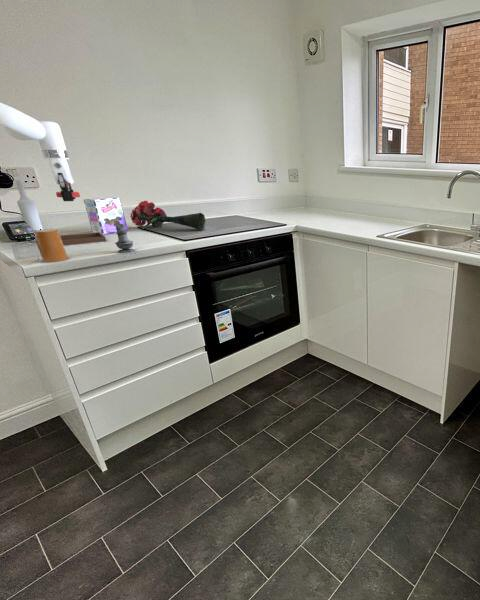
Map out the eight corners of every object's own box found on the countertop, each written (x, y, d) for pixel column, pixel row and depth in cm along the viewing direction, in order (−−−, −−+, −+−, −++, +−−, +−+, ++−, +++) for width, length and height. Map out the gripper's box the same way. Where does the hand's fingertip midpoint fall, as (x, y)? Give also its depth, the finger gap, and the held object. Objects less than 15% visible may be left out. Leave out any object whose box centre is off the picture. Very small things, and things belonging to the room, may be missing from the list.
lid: (80, 196, 153) (79, 191, 152) (79, 197, 147) (78, 192, 147) (58, 196, 149) (57, 191, 148) (56, 197, 143) (54, 192, 143)
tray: (60, 245, 145) (58, 241, 145) (56, 240, 154) (55, 236, 153) (106, 241, 156) (105, 236, 155) (100, 236, 164) (99, 232, 163)
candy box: (103, 235, 167) (93, 199, 161) (92, 234, 168) (82, 198, 162) (128, 230, 180) (120, 197, 174) (118, 229, 180) (109, 196, 174)
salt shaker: (131, 248, 144) (123, 219, 140) (138, 250, 142) (131, 221, 137) (114, 251, 140) (106, 221, 135) (121, 253, 137) (113, 222, 133)
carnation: (205, 243, 190) (136, 239, 186) (213, 217, 199) (147, 212, 195) (194, 224, 177) (119, 219, 172) (203, 197, 185) (132, 192, 181)
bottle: (47, 238, 156) (27, 179, 147) (46, 240, 152) (26, 180, 143) (31, 239, 153) (10, 179, 144) (29, 242, 149) (8, 180, 140)
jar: (43, 263, 122) (33, 232, 118) (42, 259, 126) (31, 230, 122) (68, 260, 127) (59, 230, 123) (66, 256, 131) (57, 228, 127)
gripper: (65, 155, 138) (79, 202, 144) (70, 155, 150) (82, 197, 157) (39, 154, 133) (55, 202, 140) (46, 154, 146) (60, 198, 153)
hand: (69, 199), depth 148 cm, fingers closed on lid, 7 cm apart
